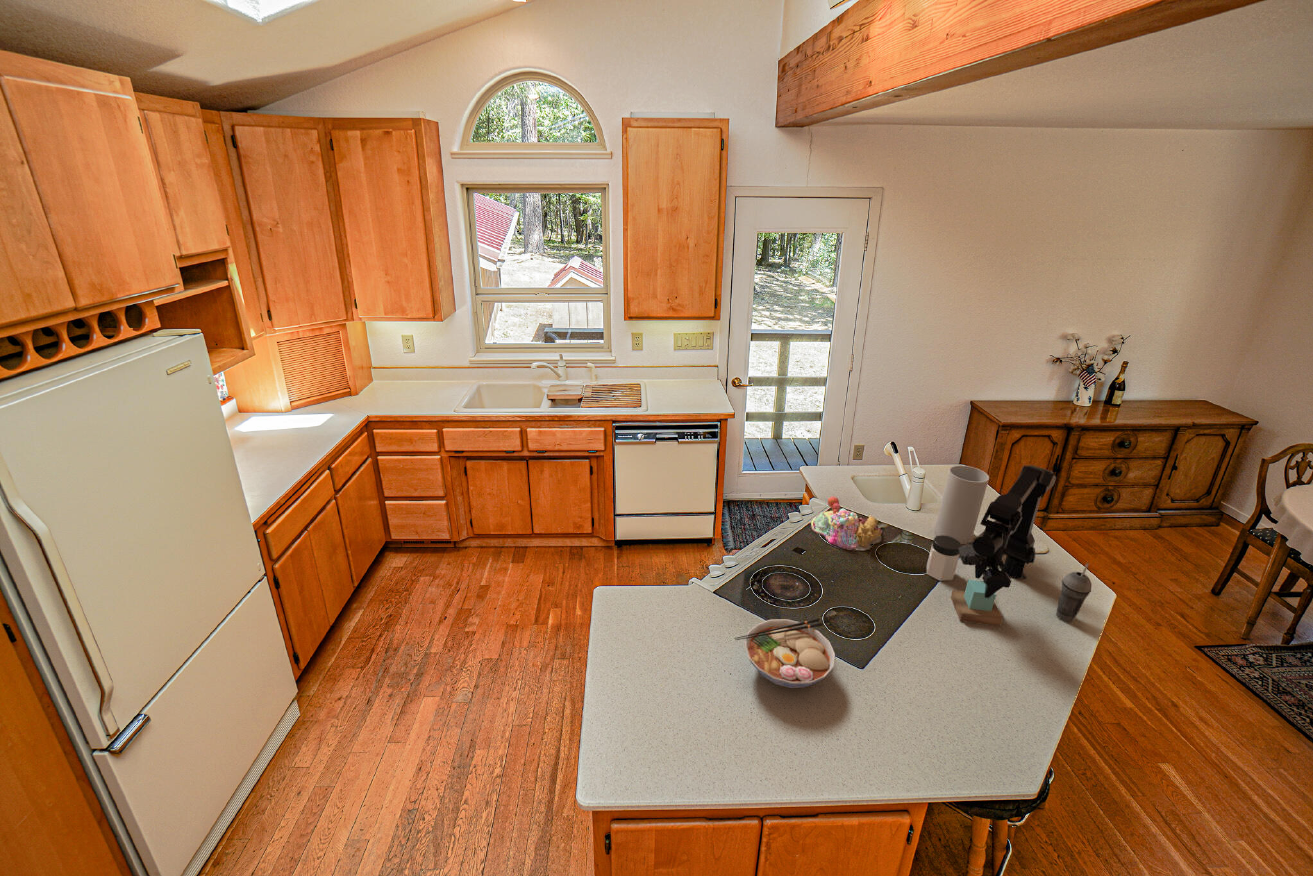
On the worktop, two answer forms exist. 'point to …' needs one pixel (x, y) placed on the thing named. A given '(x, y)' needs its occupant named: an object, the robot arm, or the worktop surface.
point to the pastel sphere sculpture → (846, 528)
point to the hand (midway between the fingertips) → (981, 587)
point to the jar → (943, 558)
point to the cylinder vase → (961, 503)
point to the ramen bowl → (789, 652)
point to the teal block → (978, 596)
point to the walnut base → (975, 611)
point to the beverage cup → (1073, 595)
